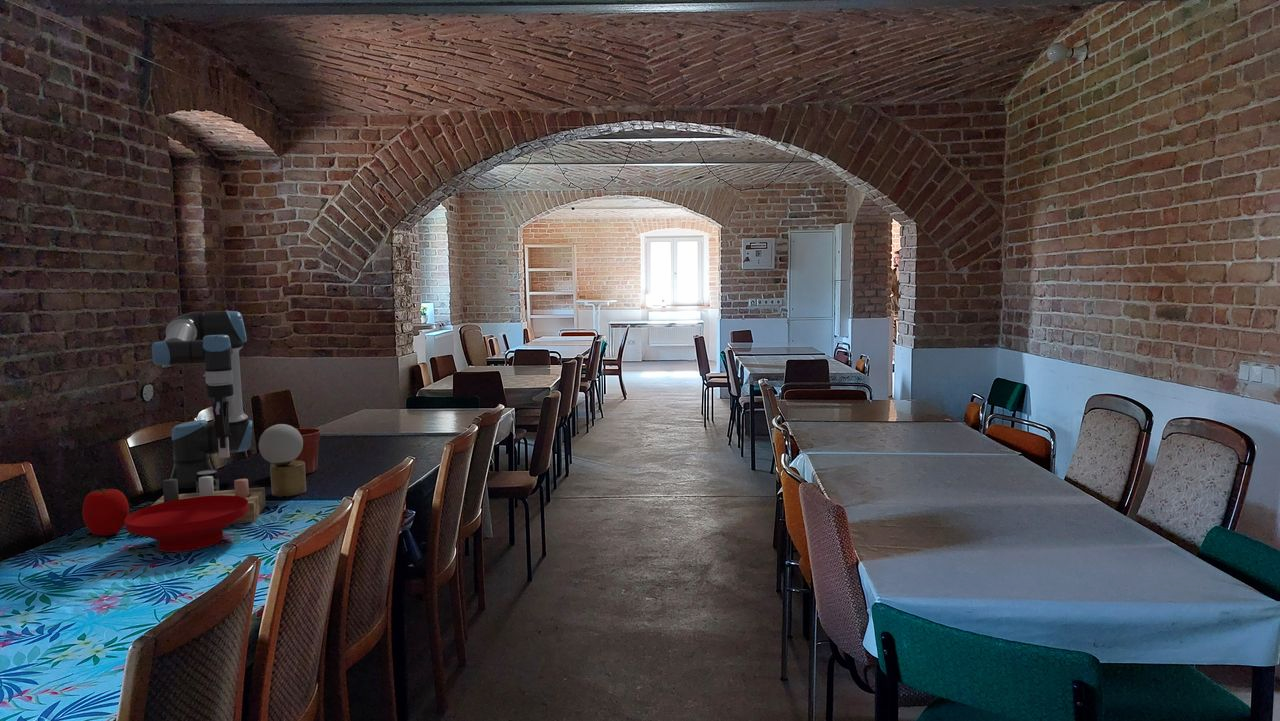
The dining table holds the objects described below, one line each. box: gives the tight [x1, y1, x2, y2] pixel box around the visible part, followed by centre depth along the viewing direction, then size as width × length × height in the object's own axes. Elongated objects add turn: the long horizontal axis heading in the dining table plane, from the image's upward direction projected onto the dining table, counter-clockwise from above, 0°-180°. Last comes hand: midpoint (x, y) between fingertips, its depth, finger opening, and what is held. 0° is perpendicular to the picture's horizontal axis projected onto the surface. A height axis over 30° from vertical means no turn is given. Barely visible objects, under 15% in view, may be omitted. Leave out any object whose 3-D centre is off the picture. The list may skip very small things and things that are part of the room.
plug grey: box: [199, 476, 214, 497], centre depth 244 cm, size 4×4×9 cm
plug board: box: [150, 486, 267, 525], centre depth 245 cm, size 20×30×6 cm, turn 107°
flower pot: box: [294, 427, 322, 475], centre depth 305 cm, size 16×16×16 cm
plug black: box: [162, 478, 179, 502], centre depth 241 cm, size 4×4×9 cm
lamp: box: [258, 423, 307, 498], centre depth 271 cm, size 15×14×25 cm
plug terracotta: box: [233, 478, 249, 498], centre depth 247 cm, size 4×4×9 cm
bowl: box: [124, 495, 249, 553], centre depth 220 cm, size 30×30×10 cm
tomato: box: [81, 487, 130, 537], centre depth 230 cm, size 13×11×14 cm
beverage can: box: [195, 469, 220, 493], centre depth 257 cm, size 7×7×12 cm
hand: (224, 457), depth 245 cm, fingers closed
